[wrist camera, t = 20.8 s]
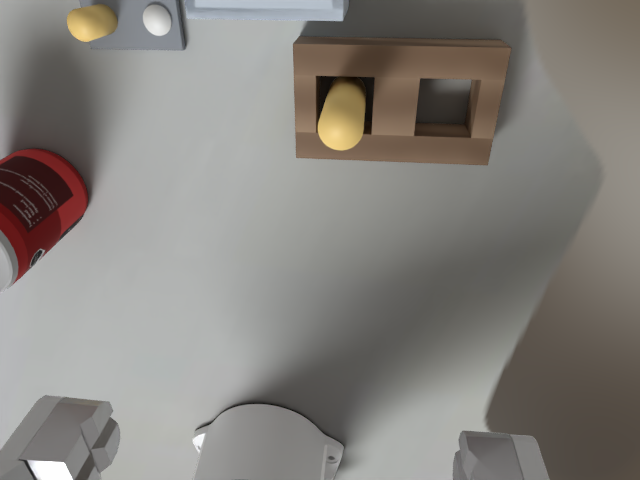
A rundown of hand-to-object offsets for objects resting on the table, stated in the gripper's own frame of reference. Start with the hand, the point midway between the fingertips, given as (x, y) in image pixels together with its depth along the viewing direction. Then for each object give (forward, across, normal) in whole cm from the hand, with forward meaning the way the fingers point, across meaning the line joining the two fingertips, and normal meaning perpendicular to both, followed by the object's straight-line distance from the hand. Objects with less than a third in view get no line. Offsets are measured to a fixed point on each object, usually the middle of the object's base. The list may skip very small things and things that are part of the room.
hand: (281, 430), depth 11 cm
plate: (+29, +16, -5) cm, 33 cm away
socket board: (+29, -4, 0) cm, 29 cm away
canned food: (+29, +26, +9) cm, 41 cm away
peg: (+29, 0, 0) cm, 29 cm away
